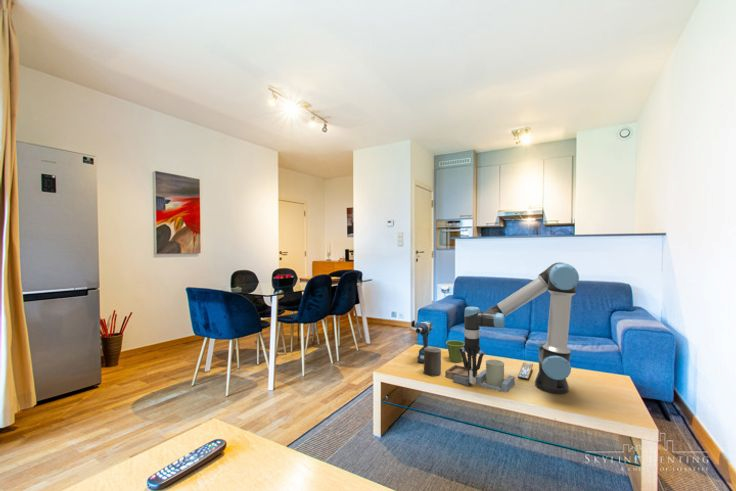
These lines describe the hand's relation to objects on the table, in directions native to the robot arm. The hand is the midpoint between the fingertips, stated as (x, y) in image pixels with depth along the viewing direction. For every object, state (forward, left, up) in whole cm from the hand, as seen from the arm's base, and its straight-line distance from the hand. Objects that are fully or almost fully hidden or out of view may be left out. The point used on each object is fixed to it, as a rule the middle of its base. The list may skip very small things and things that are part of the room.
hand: (471, 382), depth 177 cm
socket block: (-9, -10, -2) cm, 13 cm away
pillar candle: (+24, -3, -2) cm, 25 cm away
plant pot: (+23, -31, -2) cm, 39 cm away
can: (-9, -10, -2) cm, 13 cm away
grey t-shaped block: (+5, 0, -2) cm, 6 cm away
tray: (+9, -9, -2) cm, 13 cm away
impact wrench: (+37, -16, -2) cm, 41 cm away
